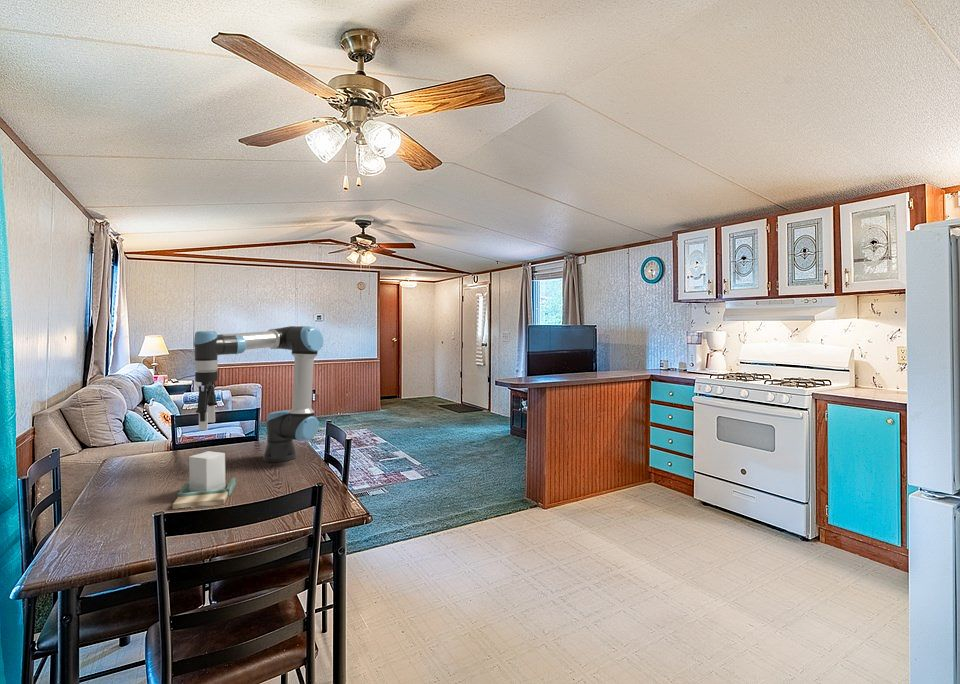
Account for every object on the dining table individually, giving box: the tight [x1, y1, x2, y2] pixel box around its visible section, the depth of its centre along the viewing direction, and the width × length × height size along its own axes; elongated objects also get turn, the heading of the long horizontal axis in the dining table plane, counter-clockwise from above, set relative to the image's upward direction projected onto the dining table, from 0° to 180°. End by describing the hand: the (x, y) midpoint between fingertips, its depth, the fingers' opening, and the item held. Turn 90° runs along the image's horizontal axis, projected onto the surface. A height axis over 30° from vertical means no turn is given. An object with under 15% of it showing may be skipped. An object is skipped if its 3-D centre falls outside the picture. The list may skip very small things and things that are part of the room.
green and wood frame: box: [172, 476, 237, 510], centre depth 178 cm, size 17×22×3 cm
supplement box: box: [188, 450, 227, 492], centre depth 181 cm, size 9×9×15 cm
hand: (207, 426), depth 181 cm, fingers open, 13 cm apart
